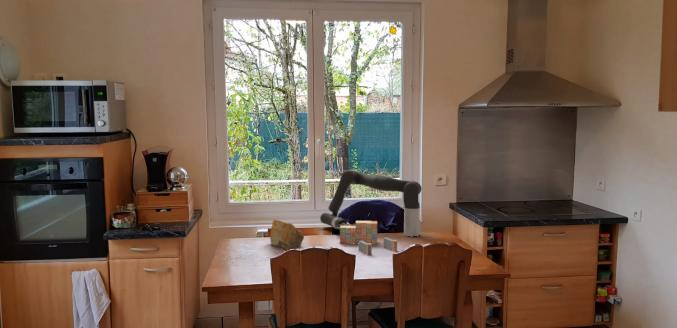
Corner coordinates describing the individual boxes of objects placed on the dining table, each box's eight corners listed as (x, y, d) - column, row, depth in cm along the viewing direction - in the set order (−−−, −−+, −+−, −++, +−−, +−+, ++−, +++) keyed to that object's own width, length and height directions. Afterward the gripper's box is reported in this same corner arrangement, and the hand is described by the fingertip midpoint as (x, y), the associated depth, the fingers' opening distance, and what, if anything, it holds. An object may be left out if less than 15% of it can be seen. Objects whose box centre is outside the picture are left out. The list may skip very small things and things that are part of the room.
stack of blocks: (339, 243, 260) (339, 222, 259) (340, 241, 266) (340, 220, 265) (377, 244, 258) (377, 223, 257) (376, 241, 265) (377, 220, 264)
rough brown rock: (310, 251, 246) (312, 223, 246) (281, 252, 238) (283, 224, 238) (294, 243, 266) (296, 217, 266) (267, 243, 259) (269, 217, 259)
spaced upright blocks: (386, 246, 254) (386, 236, 253) (397, 250, 245) (397, 240, 244) (358, 250, 245) (358, 240, 245) (368, 254, 237) (368, 244, 236)
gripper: (330, 218, 281) (343, 224, 266) (349, 217, 287) (362, 222, 272) (330, 230, 282) (343, 236, 266) (348, 228, 288) (362, 234, 272)
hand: (353, 229), depth 269 cm, fingers closed
